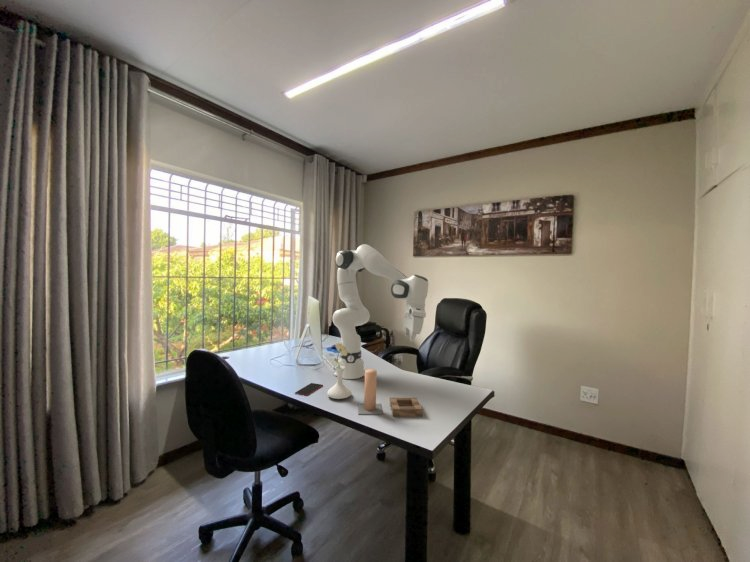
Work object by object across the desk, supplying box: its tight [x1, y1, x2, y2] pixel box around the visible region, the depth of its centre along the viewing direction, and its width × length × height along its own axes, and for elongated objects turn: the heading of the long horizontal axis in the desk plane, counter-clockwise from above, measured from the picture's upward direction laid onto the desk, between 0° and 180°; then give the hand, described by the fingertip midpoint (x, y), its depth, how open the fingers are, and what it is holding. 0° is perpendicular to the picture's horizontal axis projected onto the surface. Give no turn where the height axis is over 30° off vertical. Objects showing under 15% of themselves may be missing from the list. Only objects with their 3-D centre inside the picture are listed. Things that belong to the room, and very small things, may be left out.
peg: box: [363, 368, 377, 411], centre depth 128 cm, size 5×5×16 cm
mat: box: [357, 403, 384, 416], centre depth 128 cm, size 10×10×1 cm
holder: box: [389, 397, 423, 418], centre depth 128 cm, size 12×12×3 cm
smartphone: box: [294, 382, 324, 397], centre depth 149 cm, size 7×1×15 cm
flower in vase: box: [326, 341, 352, 400], centre depth 142 cm, size 13×11×25 cm
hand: (409, 339), depth 140 cm, fingers open, 8 cm apart
